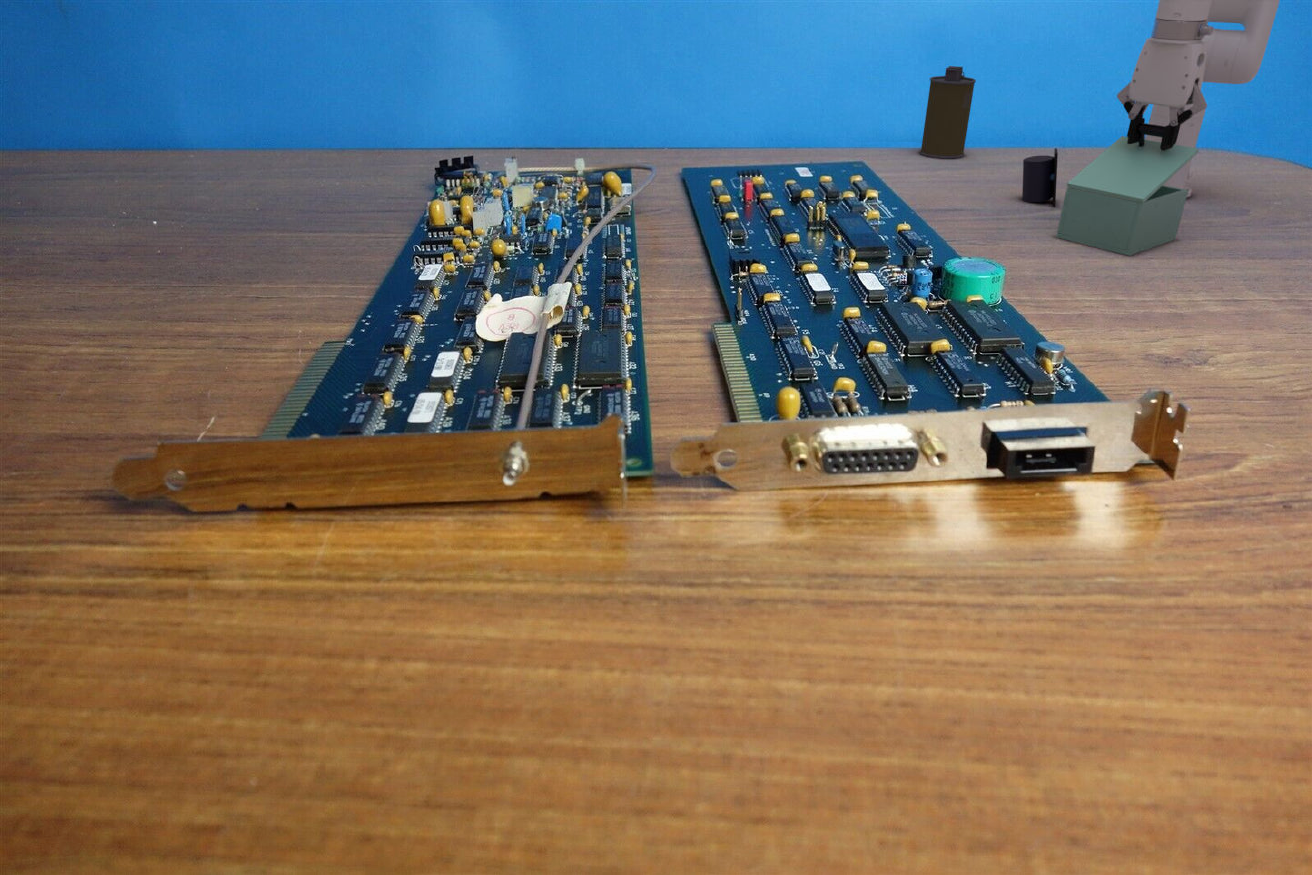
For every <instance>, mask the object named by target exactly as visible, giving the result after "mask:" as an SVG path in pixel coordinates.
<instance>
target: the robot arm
mask: <svg viewBox="0 0 1312 875" xmlns="http://www.w3.org/2000/svg"><path fill="white" fill-rule="evenodd" d="M1279 5H1280V0H1158V4H1157V9H1156V13H1155V18H1154V21H1153V26H1152V30H1151V34H1150V37H1149V38H1146V39H1145V41H1144V44H1143V46H1142V47H1141V48H1142V49H1141V50H1140V53H1139V56H1138V58H1137V61H1136V63H1135V67H1134V69H1133V73H1132V76H1131V79H1130V80H1131V81H1130V82H1129V83H1128V84H1126V85H1125V86H1124V87H1123V88H1122V89H1121V90H1120V91H1119V92H1118V93H1117V94H1116V98H1117V100H1119V102H1120V104H1121V105H1123V108H1124V110H1125V111H1126V113H1127V115H1128V116H1127V118H1128V119H1129V120H1130V121H1129V125H1128V129H1127V133H1126V137H1128V141H1127V144H1133V143H1137V142H1139V134H1138V133H1137V127H1138V125H1139V124H1140V123H1146V119H1145V117H1144V114H1145V112H1146V111H1147V109H1148V107H1149V105H1152V110H1151V112H1150V117H1149V121H1148V124H1153V125H1160V126H1166V127H1165V130H1164V134H1163V138H1162V137H1156V136H1150V135H1145V140H1149V141H1155V142H1161V146H1160V149H1161V150H1167V149H1170V148H1172V147H1173V145H1180V146H1186V147H1192V148H1197V143H1198V140H1199V136H1200V132H1201V128H1202V124H1203V121H1204V117H1205V114H1206V109H1207V108H1208V104H1207V102H1206V98H1205V96H1204V95H1203V92H1202V85H1203V83H1213V84H1228V85H1242V84H1244V85H1245V84H1247V83H1250V82H1251V81H1253V80H1254V78H1255V77H1256V76H1257V74H1258V72H1259V70H1260V68H1261V65H1262V62H1263V59H1264V56H1265V53H1266V49H1267V46H1268V43H1269V38H1270V36H1271V33H1272V32H1271V31H1272V28H1273V25H1274V21H1275V18H1276V15H1277V12H1278V8H1279ZM1208 23H1224V24H1225V23H1226V24H1240V25H1241V26H1243V28H1244V30H1240V29H1220V28H1214V26H1213V25H1209V24H1208ZM1192 161H1193V158H1192V159H1191V160H1190V161H1189V162H1187V163H1186V164H1185V165H1184V166H1183V167H1182V168H1181V169H1180V170H1179V171H1178V172H1177V173H1175V174H1174V175H1173V176H1172V177H1171V178H1170V179H1169V180H1168V181H1167V182H1166V183H1165V184H1163V185H1165V186H1170V187H1175V188H1180V189H1185V190H1189V191H1188V194H1187V198H1190V197H1191V196H1192V193H1193V190H1192V189H1191V187H1189V186H1187V185H1186V183H1187V180H1188V179H1190V178H1192V177H1193V175H1194V172H1193V170H1192V169H1191V165H1192Z"/></svg>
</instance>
